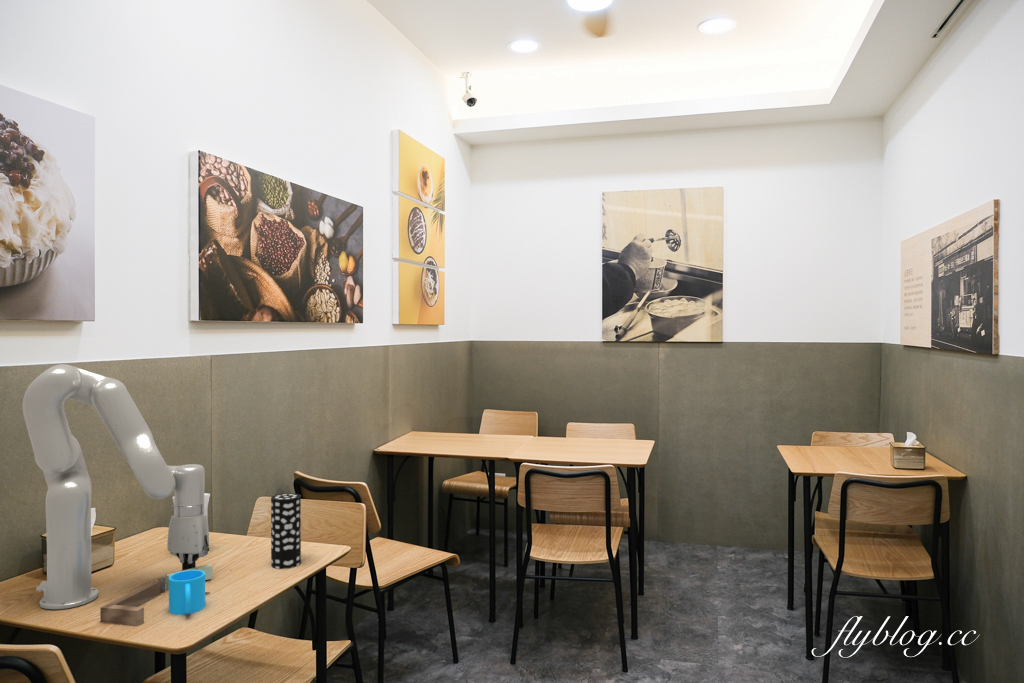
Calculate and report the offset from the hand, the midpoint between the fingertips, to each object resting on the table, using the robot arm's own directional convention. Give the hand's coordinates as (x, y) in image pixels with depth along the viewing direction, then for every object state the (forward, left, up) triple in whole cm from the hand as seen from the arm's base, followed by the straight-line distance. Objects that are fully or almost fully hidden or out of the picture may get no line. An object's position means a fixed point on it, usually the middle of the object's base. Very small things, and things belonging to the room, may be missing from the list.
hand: (188, 576), depth 188 cm
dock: (+4, -18, -1) cm, 18 cm away
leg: (+2, -3, -1) cm, 3 cm away
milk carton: (-15, +22, -1) cm, 26 cm away
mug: (+13, -18, -2) cm, 22 cm away
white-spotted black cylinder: (+19, +18, -1) cm, 26 cm away
